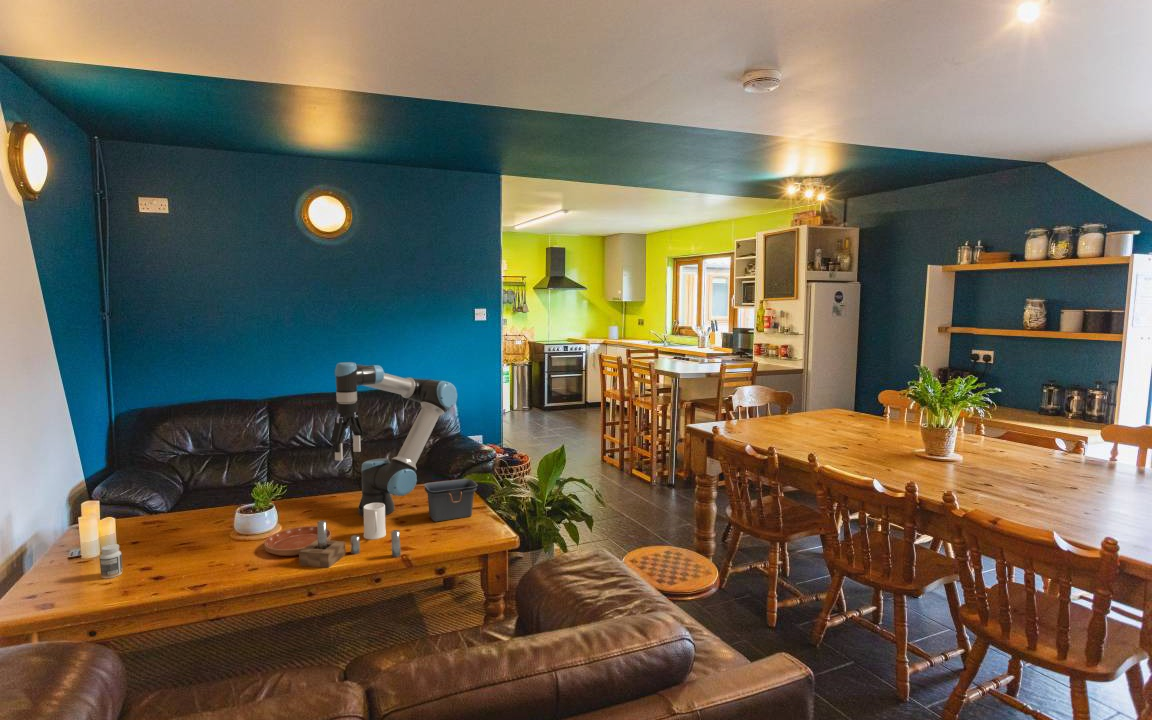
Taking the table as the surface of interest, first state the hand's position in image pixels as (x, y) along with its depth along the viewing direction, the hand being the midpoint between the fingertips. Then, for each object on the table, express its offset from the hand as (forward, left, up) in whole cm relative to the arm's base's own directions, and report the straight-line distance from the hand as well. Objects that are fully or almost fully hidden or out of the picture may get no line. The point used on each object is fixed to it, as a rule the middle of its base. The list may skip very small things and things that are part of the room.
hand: (348, 455), depth 234 cm
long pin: (+24, +3, -32) cm, 40 cm away
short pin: (+16, +11, -32) cm, 37 cm away
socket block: (+24, +3, -32) cm, 40 cm away
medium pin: (+16, +27, -32) cm, 45 cm away
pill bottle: (+47, -59, -32) cm, 82 cm away
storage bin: (-25, +33, -32) cm, 52 cm away
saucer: (+14, -13, -32) cm, 37 cm away
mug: (+1, +11, -32) cm, 34 cm away
